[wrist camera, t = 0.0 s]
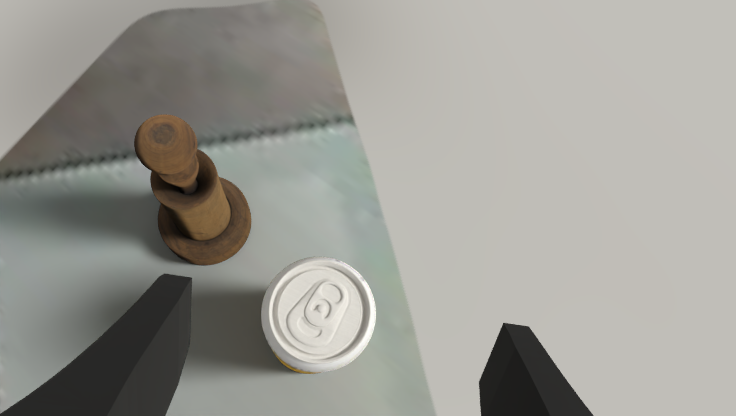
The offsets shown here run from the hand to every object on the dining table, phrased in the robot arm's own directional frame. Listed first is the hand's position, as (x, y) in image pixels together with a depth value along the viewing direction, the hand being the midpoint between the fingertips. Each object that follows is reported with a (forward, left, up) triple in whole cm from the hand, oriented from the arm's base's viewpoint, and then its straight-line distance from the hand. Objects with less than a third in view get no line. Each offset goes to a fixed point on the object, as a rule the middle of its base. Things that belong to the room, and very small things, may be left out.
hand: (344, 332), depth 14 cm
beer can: (+2, 0, -32) cm, 33 cm away
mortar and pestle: (+9, +9, -32) cm, 35 cm away
